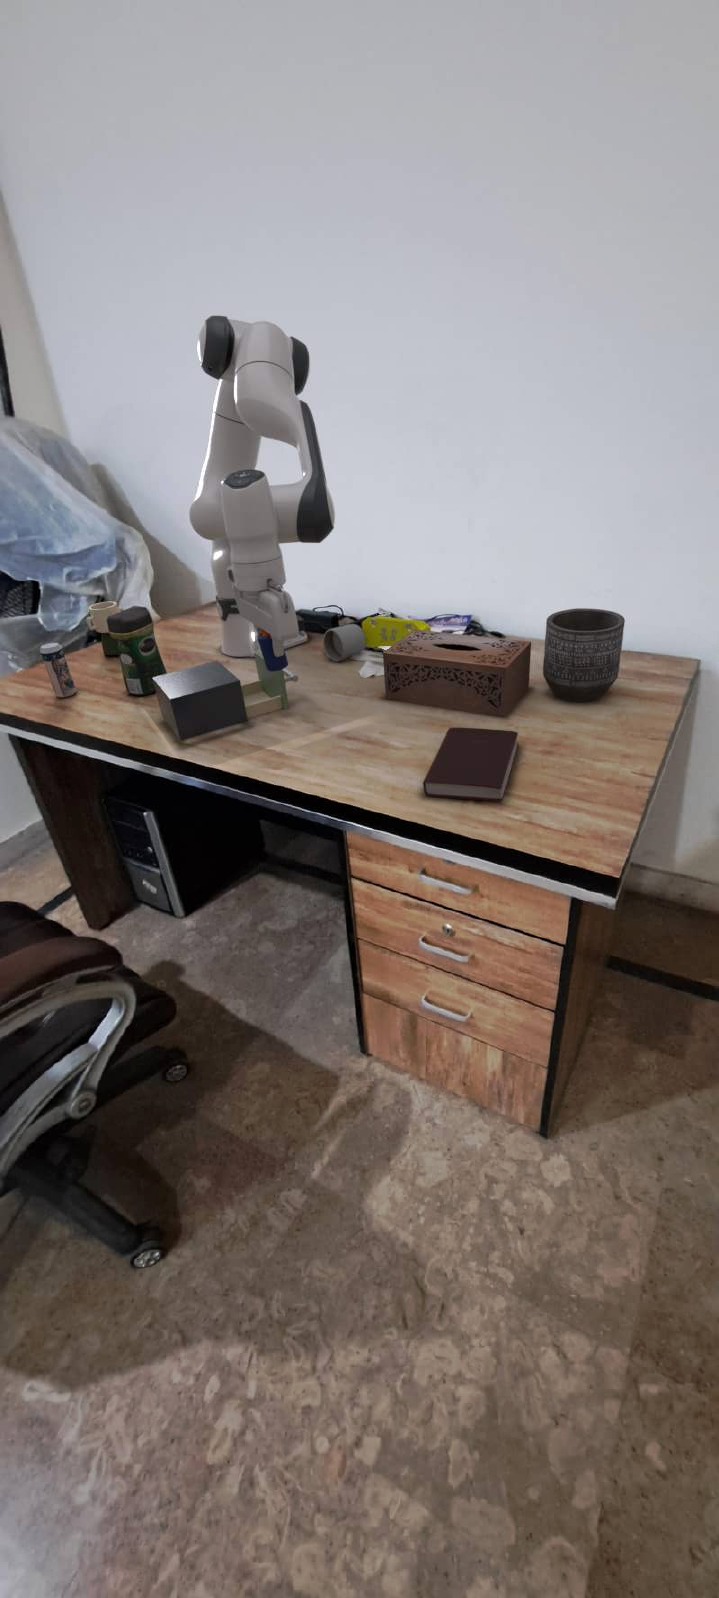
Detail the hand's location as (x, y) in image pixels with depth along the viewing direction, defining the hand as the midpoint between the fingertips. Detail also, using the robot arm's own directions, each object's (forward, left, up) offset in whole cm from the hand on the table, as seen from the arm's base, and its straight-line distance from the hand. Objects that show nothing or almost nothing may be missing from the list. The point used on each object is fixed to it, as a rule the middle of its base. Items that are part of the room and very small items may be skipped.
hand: (272, 650), depth 124 cm
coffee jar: (+18, -40, -16) cm, 46 cm away
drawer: (+1, -12, -15) cm, 20 cm away
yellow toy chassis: (-39, -22, -16) cm, 48 cm away
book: (-19, +35, -16) cm, 43 cm away
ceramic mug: (-27, -28, -16) cm, 42 cm away
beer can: (+35, -50, -16) cm, 63 cm away
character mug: (+19, -71, -16) cm, 75 cm away
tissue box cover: (-36, +8, -16) cm, 40 cm away
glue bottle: (0, 0, -3) cm, 3 cm away
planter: (-54, +23, -16) cm, 61 cm away
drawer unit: (+13, -12, -16) cm, 24 cm away
